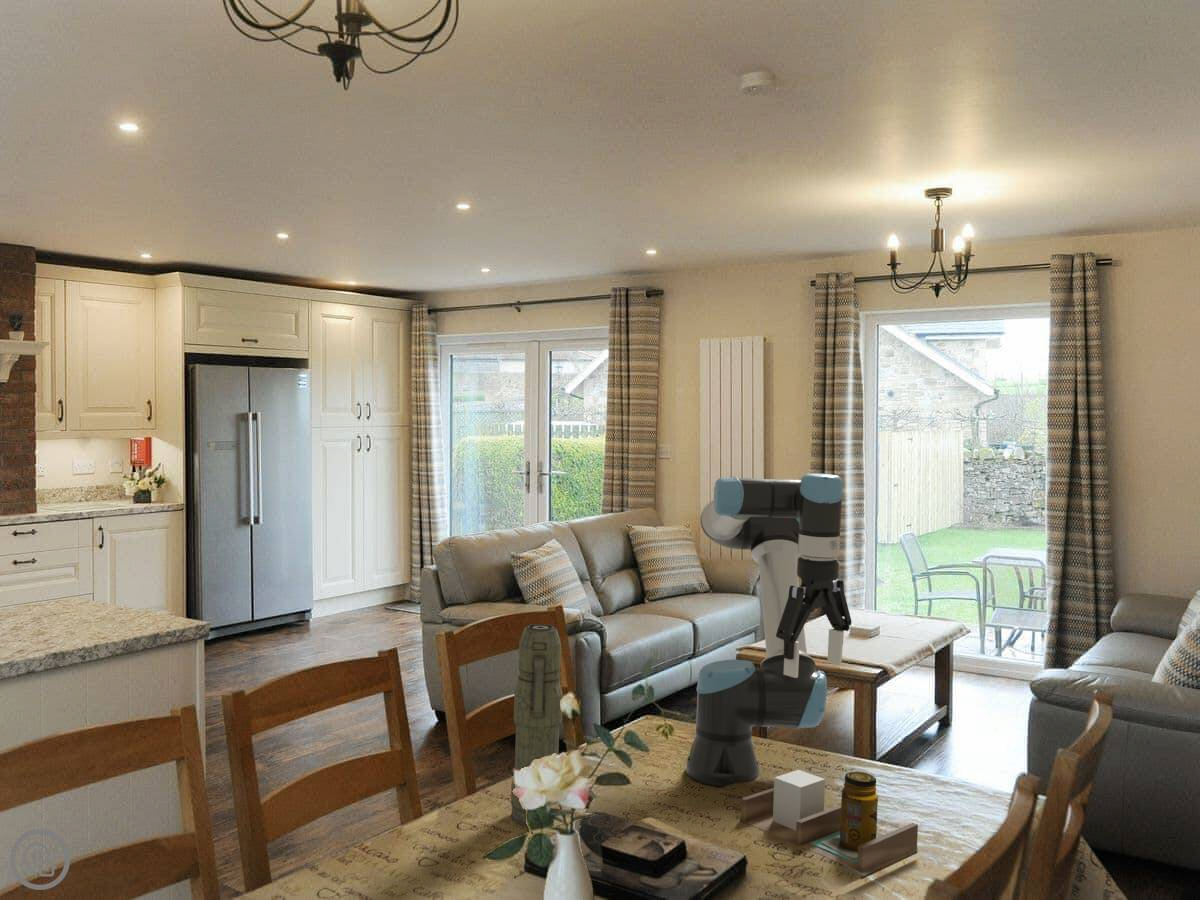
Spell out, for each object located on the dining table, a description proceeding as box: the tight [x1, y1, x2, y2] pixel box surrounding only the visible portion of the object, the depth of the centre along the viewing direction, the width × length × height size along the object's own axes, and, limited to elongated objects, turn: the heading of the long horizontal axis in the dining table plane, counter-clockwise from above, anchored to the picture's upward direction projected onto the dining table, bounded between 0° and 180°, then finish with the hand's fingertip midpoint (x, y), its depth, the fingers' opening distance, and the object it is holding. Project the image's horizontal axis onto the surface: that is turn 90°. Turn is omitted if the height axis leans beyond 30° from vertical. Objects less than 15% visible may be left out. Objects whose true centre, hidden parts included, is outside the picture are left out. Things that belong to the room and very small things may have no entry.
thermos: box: [510, 623, 564, 827], centre depth 177 cm, size 9×12×35 cm
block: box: [773, 769, 826, 831], centre depth 176 cm, size 6×7×8 cm
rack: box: [740, 787, 919, 880], centre depth 171 cm, size 26×16×5 cm, turn 40°
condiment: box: [821, 771, 879, 859], centre depth 166 cm, size 7×8×12 cm
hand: (813, 669), depth 181 cm, fingers open, 13 cm apart
